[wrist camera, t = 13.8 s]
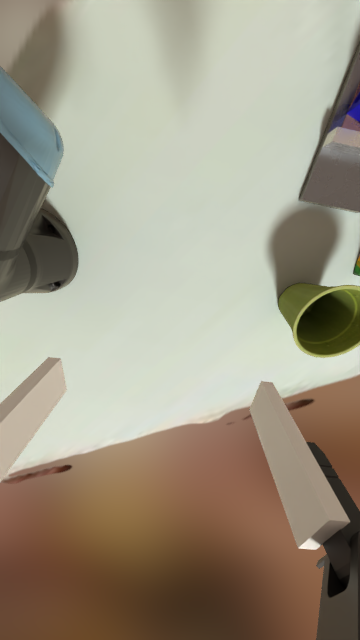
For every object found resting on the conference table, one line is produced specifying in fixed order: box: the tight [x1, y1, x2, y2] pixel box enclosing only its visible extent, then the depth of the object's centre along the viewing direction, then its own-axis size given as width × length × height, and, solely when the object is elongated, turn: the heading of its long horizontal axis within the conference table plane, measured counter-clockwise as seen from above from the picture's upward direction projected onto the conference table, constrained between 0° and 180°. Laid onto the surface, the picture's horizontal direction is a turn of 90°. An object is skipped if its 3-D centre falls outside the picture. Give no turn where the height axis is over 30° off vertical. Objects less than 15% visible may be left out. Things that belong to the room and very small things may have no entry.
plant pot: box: [278, 283, 360, 358], centre depth 33 cm, size 12×12×11 cm
